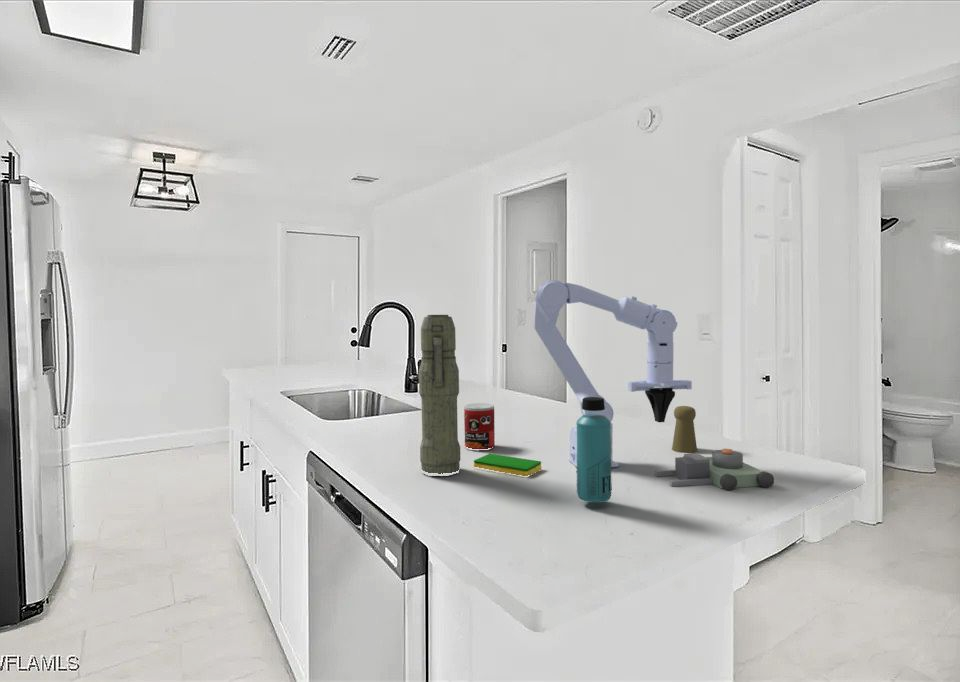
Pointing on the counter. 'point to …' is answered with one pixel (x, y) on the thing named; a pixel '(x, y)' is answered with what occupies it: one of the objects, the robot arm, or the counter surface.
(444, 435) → the olive green flashlight
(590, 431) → the beverage bottle
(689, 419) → the olive brown tapered figure
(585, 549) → the counter surface
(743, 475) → the mower deck
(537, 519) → the counter surface
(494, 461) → the dish sponge
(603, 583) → the counter surface
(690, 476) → the grey block on ledge
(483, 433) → the canned food
